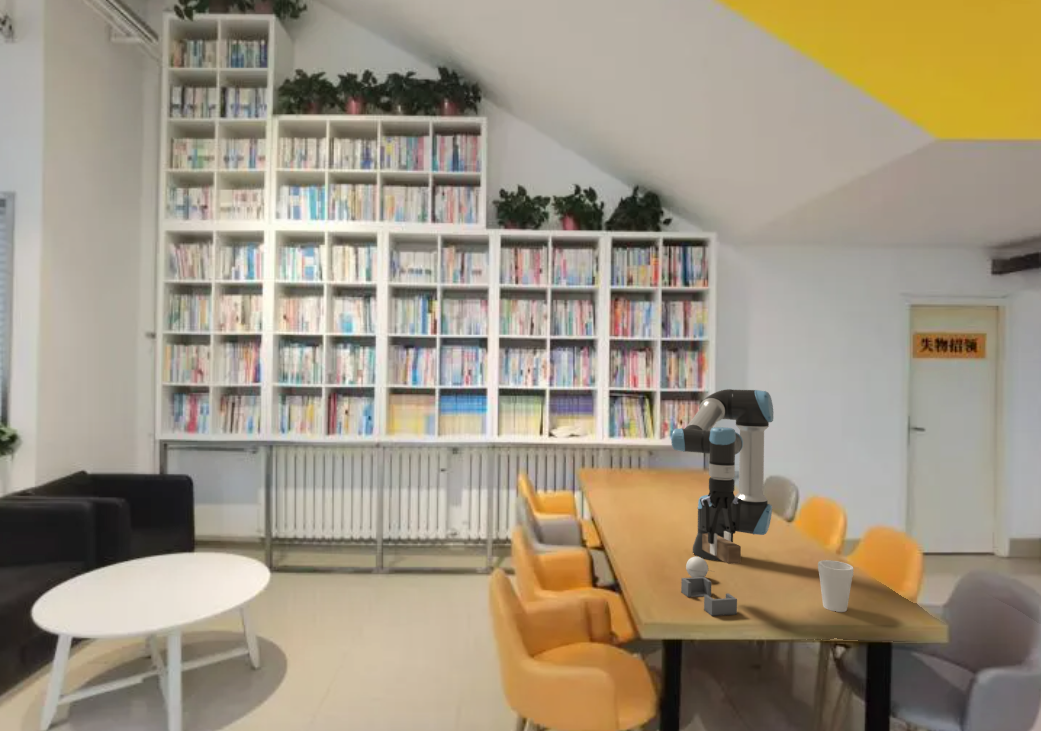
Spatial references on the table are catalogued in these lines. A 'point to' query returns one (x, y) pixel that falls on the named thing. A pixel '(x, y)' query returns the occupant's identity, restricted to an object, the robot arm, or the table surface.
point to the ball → (697, 567)
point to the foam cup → (835, 584)
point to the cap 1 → (696, 586)
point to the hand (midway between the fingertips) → (720, 553)
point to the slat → (723, 549)
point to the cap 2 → (720, 605)
